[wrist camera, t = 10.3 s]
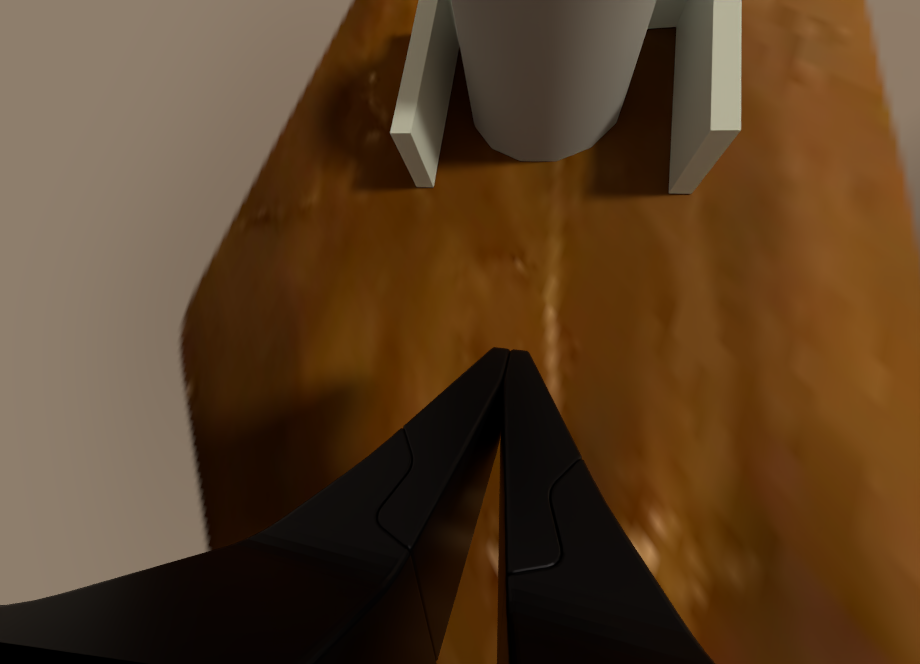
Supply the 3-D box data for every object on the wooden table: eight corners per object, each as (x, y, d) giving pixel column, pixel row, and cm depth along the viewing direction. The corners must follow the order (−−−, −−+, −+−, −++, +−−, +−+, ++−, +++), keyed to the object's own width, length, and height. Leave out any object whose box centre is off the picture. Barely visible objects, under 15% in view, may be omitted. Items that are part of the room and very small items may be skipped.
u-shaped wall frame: (691, 193, 17) (740, 130, 13) (416, 187, 20) (389, 133, 16) (697, 10, 19) (741, -93, 15) (447, 29, 22) (430, -53, 18)
